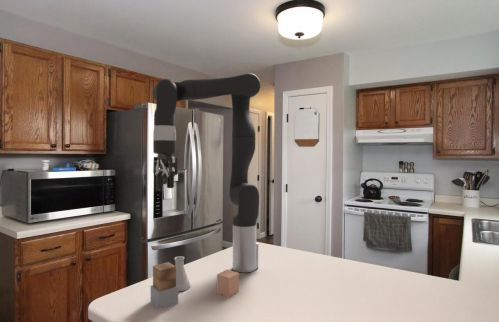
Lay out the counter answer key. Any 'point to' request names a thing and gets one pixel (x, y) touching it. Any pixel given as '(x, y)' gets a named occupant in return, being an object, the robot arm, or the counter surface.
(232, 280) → the terracotta cube
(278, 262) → the counter surface
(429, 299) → the counter surface
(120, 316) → the counter surface
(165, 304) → the grey base block
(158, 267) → the walnut cube
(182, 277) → the flask
